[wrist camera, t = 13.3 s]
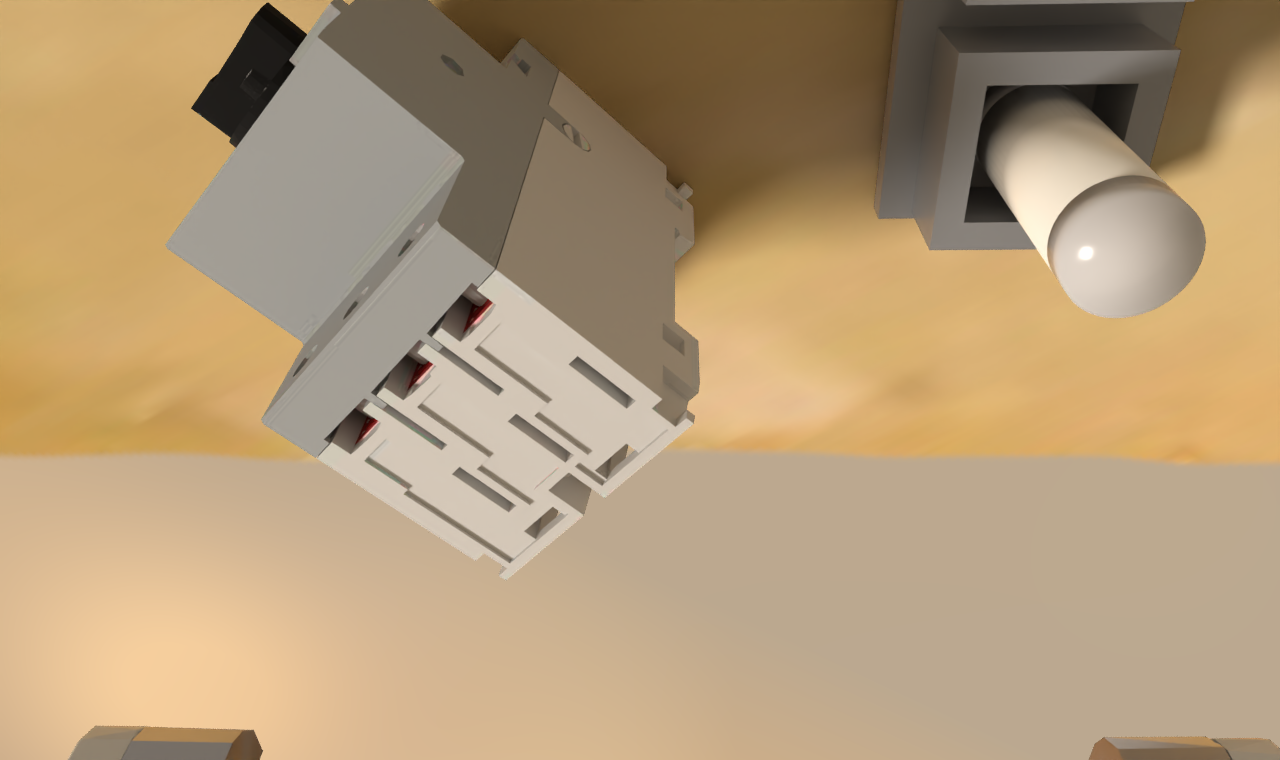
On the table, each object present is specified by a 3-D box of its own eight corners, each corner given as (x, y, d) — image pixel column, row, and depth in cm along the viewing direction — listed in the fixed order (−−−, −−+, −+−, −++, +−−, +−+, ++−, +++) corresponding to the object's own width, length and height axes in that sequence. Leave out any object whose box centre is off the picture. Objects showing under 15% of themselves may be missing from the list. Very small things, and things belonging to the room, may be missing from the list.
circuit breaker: (374, -96, 33) (187, 28, 20) (692, 189, 38) (701, 429, 25) (254, 74, 36) (28, 272, 23) (562, 316, 41) (513, 584, 28)
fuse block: (873, 207, 38) (893, 255, 34) (928, -270, 29) (960, -267, 26) (1118, 205, 37) (1161, 253, 34) (1243, -279, 29) (1316, -277, 26)
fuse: (960, 173, 36) (1048, 318, 27) (976, 72, 34) (1077, 194, 25) (1062, 172, 36) (1183, 318, 27) (1085, 70, 34) (1223, 192, 25)
